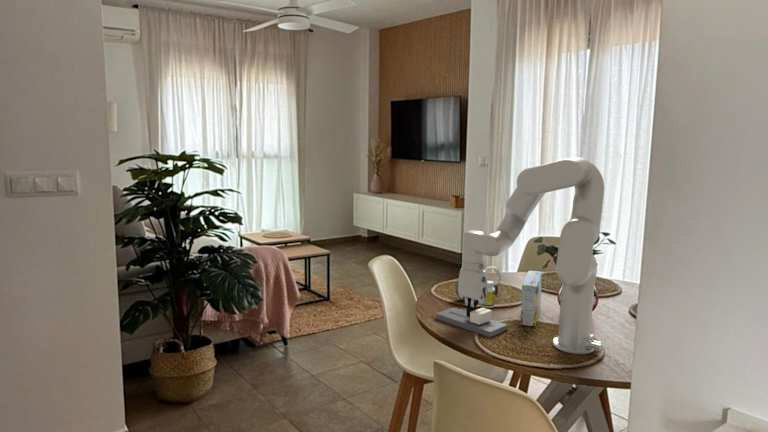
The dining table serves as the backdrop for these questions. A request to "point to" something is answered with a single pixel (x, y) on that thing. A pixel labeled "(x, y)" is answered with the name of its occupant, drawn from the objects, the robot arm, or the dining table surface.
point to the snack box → (531, 298)
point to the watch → (497, 275)
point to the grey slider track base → (461, 320)
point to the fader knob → (480, 316)
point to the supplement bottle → (489, 296)
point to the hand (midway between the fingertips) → (471, 316)
